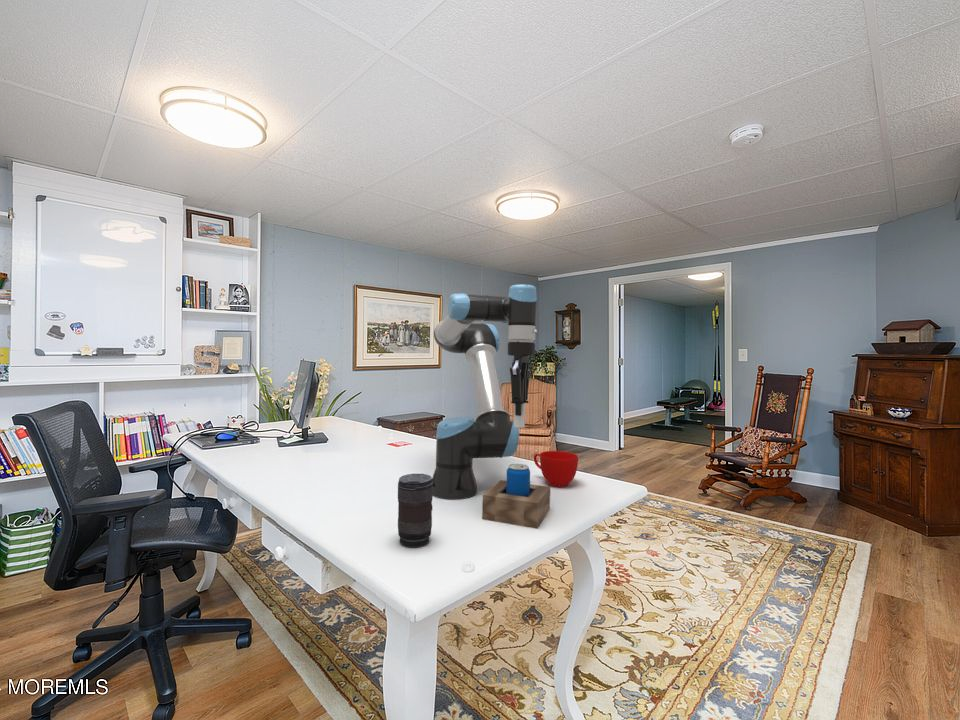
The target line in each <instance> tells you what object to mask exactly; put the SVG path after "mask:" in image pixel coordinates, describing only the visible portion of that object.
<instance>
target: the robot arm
mask: <svg viewBox="0 0 960 720" xmlns="http://www.w3.org/2000/svg"><path fill="white" fill-rule="evenodd" d="M537 301H538V298H537V288H536V286H534V285H532V284H526V283H525V284H513V285H510V287H509V289H508V295H507V296H504V295H503V296H502V295H487V294H486V295H485V294H472V293H452V294H451V295H450V296H449V298H448V303H447V313H448V314H447V316H446V317H445V318H444V319H442V320H441V321H439V322H438V323H437V324H436V326H435V328H434V331H433V338H434V340H435V342H436V344H437V345H438V346H439V347H440V348H441V349H442V350H445V351H446V352H448V353H453V354H465V355H464V356H465V359H466V360H467V361H468V362H469V363H470V366H471V367H470V368H471V373H472V379H473V386H474V391H475V399H476V405H477V410H478V416H476V418H475V420H474V418H473V417H472V416H455V417H450V418H445V419H443V420H441V421H439V422H438V424H437V425H436V426H437V427H436V435H435V438H436V444H435V445H436V447H435V448H436V449H435V450H436V451H435V456H436V457H435V468H434V472H433V475H432V476H431V477H432V482H433V497H437V498H439V499H446V500H462V499H468V498H471V497H474V496H476V495H477V494H478V483H477V479H476V476H475V472H474V469H473V459H486V458H487V459H488V458H489V459H490V458H491V459H495V458H498V459H499V458H500V459H502V458H508V457H512V456H515V453H517V450H518V447H519V442H520V428H522V429H523V428H525V426H526V424H525V423H526V404H529V400H528V399H529V397H528V396H529V387H530V375H531V369H532V367H531V366H530V362H529V357H534V356H535V354H536V343H535V342H534V341H535V340H536V334H537V333H538V330H537V329H536V324H537V323H536V321H537V320H536V319H537ZM474 321H475V322H481V323H474ZM485 322H497V323H503V324H507V339H508V341H509V342H508V343H507V355H508V356H511V357H512V356H513V361H512V363H511V366H510V367H509V372H510V374H509V375H510V389H511V402H510V403H511V404H514V405H513V406H514V407H513V408H514V410H513V420H511V418H510V417H511V416H510V413H509V412H508V411H506V410H504V404H503V398H502V394H501V391H500V390H501V389H500V385H499V379H498V375H497V370H496V369H497V368H496V365H495V364H496V363H495V360H494V359H495V356H496V355H497V353H498V351H499V349H500V343H501V342H500V336H499V331H498V329H497V327H496V326H495V325H493V324H491V323H485Z"/></svg>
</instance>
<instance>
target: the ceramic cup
mask: <svg viewBox="0 0 960 720" xmlns="http://www.w3.org/2000/svg"><path fill="white" fill-rule="evenodd" d="M537 457H539V462H538V460H537ZM533 462H534V464H535V466H536V467H537V468H538V469H540V471H541V473H542V477H543V478H544V479H545V481H546V482H547V483H548V485H549V486H552V487H555V488H556V487H558V488H559V487H560V488H565V487H568V486H569V484H570V483H571V482H572V481H573V480H574V478H575V477H576V474H577V471H578V465H579V455H577V454H576V453H573V452H569V451H561V450H548V451H547V450H546V451H542V452H540V453H536V454H534V455H533ZM539 463H540V464H539Z"/></svg>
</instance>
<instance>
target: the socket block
mask: <svg viewBox="0 0 960 720" xmlns="http://www.w3.org/2000/svg"><path fill="white" fill-rule="evenodd" d="M506 481H507V480H499V481H498V482H497V483H495V484H494V485H493V486H492V487H491V488H489V489H488V490H487V491H486V492H484V493H483V494H482V506H481V507H482V508H481V509H482V511H481V512H482V513H481V514H482V515H481V519H482V520H484V521H491V522H498V523H502V524H503V523H504V524H509V525H515V526H519V527H520V526H521V527H525V528H531V529H532V528H533V529H539V527H540V524H542V522H543V520H544V519H545V518H546V516H547V514H548V513H549V511H550V510H551V506H550V505H551V486H547V485H546V486H545V485H539V484H532V483H530V494H529V495H528V496H527V497H526V496H519V495H512V494H506Z"/></svg>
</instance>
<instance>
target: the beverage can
mask: <svg viewBox="0 0 960 720" xmlns="http://www.w3.org/2000/svg"><path fill="white" fill-rule="evenodd" d="M505 481H506V494H512V495H519V496H526V497H527V496H528V495H529V494H530V484H531V470H530V467H529V465H527V464H523V463H512V464H508V468H507V469H506V480H505Z"/></svg>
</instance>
